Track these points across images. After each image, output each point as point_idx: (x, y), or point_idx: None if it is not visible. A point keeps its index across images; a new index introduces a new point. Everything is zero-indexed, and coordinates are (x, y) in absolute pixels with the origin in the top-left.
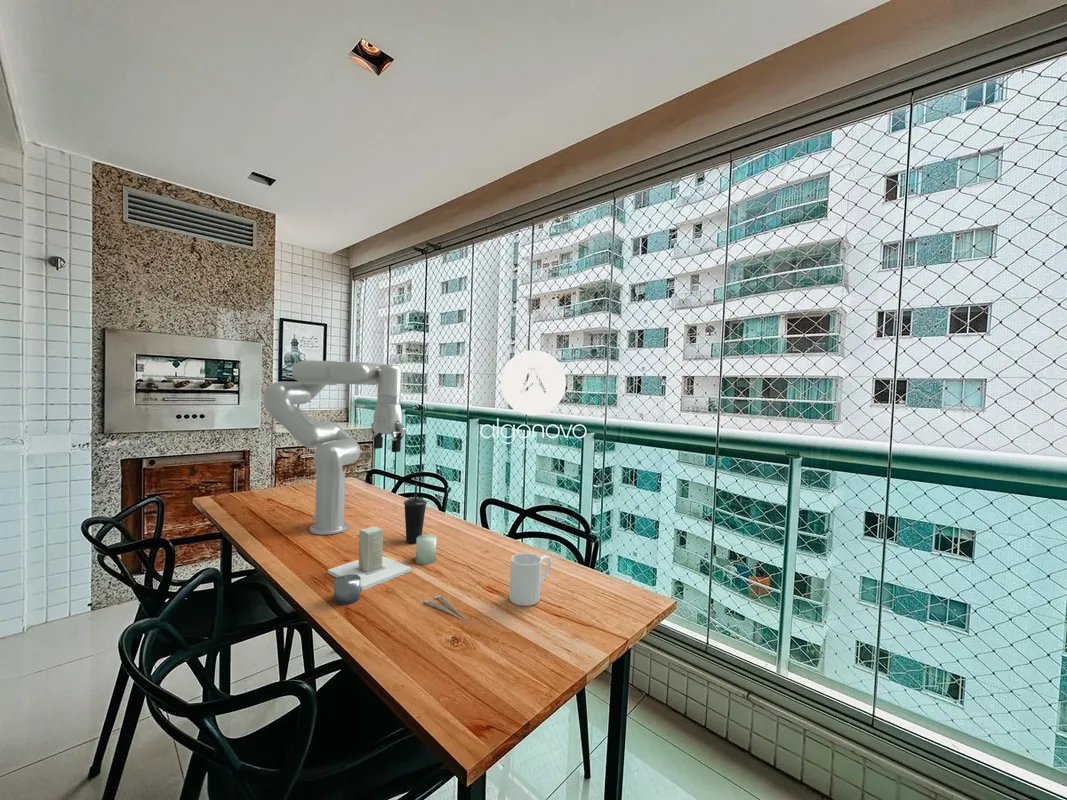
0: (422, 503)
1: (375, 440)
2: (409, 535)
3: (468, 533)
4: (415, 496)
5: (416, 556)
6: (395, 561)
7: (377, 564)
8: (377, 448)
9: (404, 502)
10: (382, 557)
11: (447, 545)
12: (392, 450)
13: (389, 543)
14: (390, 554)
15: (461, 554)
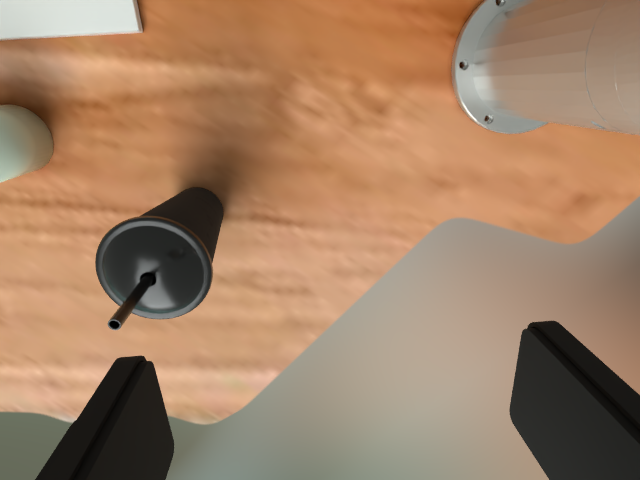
0: (105, 278)
1: (613, 414)
2: (178, 194)
3: (160, 369)
4: (139, 282)
5: (5, 106)
6: (25, 34)
7: None
8: (524, 356)
9: (172, 226)
10: (89, 22)
11: None
12: (116, 369)
13: (235, 142)
14: (136, 82)
15: (6, 250)
